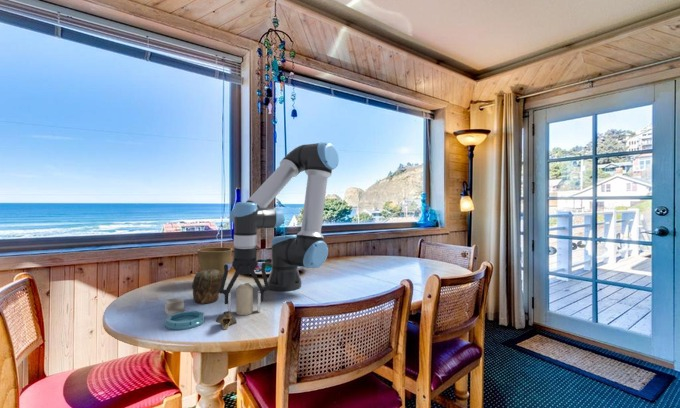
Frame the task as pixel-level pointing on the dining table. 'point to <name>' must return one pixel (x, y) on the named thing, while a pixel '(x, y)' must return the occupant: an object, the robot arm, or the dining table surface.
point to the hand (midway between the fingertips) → (244, 311)
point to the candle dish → (184, 320)
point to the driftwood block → (174, 306)
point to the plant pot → (214, 258)
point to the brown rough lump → (206, 286)
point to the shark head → (226, 319)
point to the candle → (244, 299)
